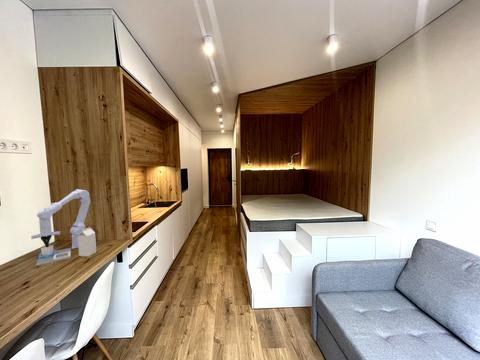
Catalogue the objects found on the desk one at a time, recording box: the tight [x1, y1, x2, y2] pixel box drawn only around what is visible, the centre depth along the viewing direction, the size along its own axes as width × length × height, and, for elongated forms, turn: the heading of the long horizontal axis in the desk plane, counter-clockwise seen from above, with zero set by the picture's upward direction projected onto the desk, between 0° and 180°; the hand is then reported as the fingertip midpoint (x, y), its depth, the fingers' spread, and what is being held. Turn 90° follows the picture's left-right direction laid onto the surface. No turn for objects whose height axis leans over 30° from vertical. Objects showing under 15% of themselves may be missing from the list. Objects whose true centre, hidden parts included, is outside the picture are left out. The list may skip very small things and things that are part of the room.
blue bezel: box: [38, 249, 57, 259], centre depth 146 cm, size 9×11×1 cm
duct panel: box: [35, 247, 72, 266], centre depth 144 cm, size 17×21×2 cm
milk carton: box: [78, 226, 97, 257], centre depth 147 cm, size 7×7×19 cm
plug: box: [40, 244, 55, 256], centre depth 146 cm, size 4×4×6 cm
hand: (47, 246), depth 145 cm, fingers closed
